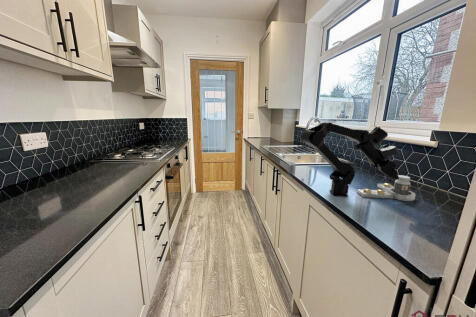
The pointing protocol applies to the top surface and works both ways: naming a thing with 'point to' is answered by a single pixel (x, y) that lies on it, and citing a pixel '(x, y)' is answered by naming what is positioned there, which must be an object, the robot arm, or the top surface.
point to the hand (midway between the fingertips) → (393, 175)
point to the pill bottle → (402, 185)
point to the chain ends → (386, 193)
